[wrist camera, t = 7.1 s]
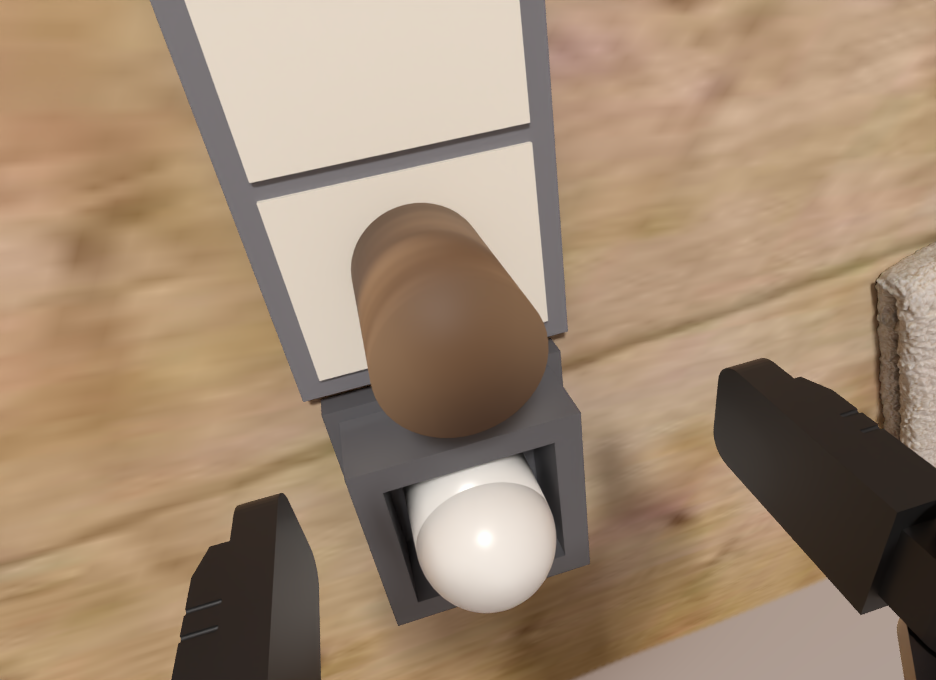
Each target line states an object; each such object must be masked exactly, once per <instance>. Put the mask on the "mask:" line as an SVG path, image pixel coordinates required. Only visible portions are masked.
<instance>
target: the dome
mask: <svg viewBox="0 0 936 680" xmlns="http://www.w3.org/2000/svg"><path fill="white" fill-rule="evenodd" d="M403 491H404V496H405V501H406V505H407V510H408V515H409V520H410V524H411V529H412V534H413V539H414V543H415V548H416V553H417V557H418V561H419V564H420V567H421V569H422V571H423V573H424V575H425V577H426V579H427V580H428V582H429V583H430V584H431V586H432V587H433V588H434V589H435V590H436V591H437V592H438V593H439V594H440V595H441V596H442V597H443V598H444V599H446V600H447V601H449V602H450V603H452V604H453V605H455V606H457V607H459V608H462V609H464V610H468V611H472V612H477V613H496V612H501V611H505V610H508V609H511V608H513V607H515V606H517V605H519V604H521V603H523V602H524V601H526V600H527V599H528V598H530V597H531V596H532V595H533V594H534V593H535V592H536V591H537V590H538V589H539V587H540V586H541V585H542V584H543V582H544V581H545V579H546V577H547V575H548V573H549V571H550V569H551V566H552V563H553V560H554V557H555V551H556V528H555V523H554V518H553V515H552V512H551V510H550V507H549V505H548V503H547V501H546V499H545V497H544V495H543V493H542V491H541V489H540V487H539V484H538V482H537V480H536V478H535V476H534V474H533V472H532V470H531V468H530V466H529V464H528V462H527V460H526V458H525V456H524V454H523V452H522V453H518V454H515V455H511V456H508V457H504V458H501V459H498V460H494V461H491V462H487V463H484V464H480V465H477V466H474V467H470V468H467V469H463V470H460V471H457V472H453V473H450V474H446V475H443V476H439V477H436V478H433V479H429V480H426V481H422V482H419V483H415V484H412V485H409V486H405V487H403Z"/></svg>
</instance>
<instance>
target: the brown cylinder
mask: <svg viewBox="0 0 936 680" xmlns="http://www.w3.org/2000/svg"><path fill="white" fill-rule="evenodd" d="M351 278H352V284H353V289H354V295H355V300H356V306H357V311H358V317H359V322H360V328H361V334H362V339H363V345H364V350H365V356H366V361H367V367H368V372H369V378H370V383H371V387H372V391H373V393H374V396H375V398H376V400H377V402H378V404H379V405H380V407H381V408H382V409H383V411H384V412H385V413H386V414H387V415H388V416H389V417H390V418H391V419H392V420H393V421H394V422H396V423H397V424H399V425H400V426H402V427H404V428H406V429H408V430H410V431H412V432H415V433H418V434H420V435H425V436H429V437H437V438H456V437H464V436H469V435H473V434H477V433H480V432H482V431H485V430H488V429H490V428H492V427H494V426H496V425H498V424H500V423H501V422H503V421H505V420H506V419H508V418H509V417H510V416H512V415H513V414H514V413H516V412H517V411H518V410H519V409H520V408H521V407H522V406H523V405H524V404H525V403H526V402H527V401H528V400H529V399H530V397H531V396H532V394H533V393H534V392H535V390H536V388H537V387H538V385H539V383H540V381H541V379H542V377H543V374H544V372H545V368H546V364H547V360H548V352H549V350H548V337H547V331H546V328H545V325H544V322H543V321H542V319H541V317H540V315H539V313H538V312H537V310H536V309H535V308H534V306H533V305H532V304H531V302H530V301H529V300H528V299H527V297H526V296H525V295H524V293H523V292H522V291H521V289H520V288H519V287H518V286H517V284H516V283H515V282H514V280H513V279H512V278H511V276H510V275H509V274H508V272H507V271H506V270H505V269H504V267H503V266H502V265H501V263H500V262H499V261H498V259H497V258H496V257H495V256H494V254H493V253H492V252H491V250H490V249H489V248H488V246H487V245H486V244H485V242H484V241H483V240H482V239H481V237H480V236H479V235H478V233H477V232H476V231H475V229H474V228H473V227H472V226H471V224H470V223H469V222H468V221H467V220H466V219H465V218H464V217H462V216H461V215H460V214H458V213H457V212H455V211H453V210H451V209H449V208H447V207H444V206H441V205H437V204H432V203H412V204H405V205H402V206H399V207H396V208H393V209H391V210H389V211H387V212H385V213H384V214H382V215H380V216H379V217H378V218H377V219H375V220H374V221H373V222H372V223H371V224H370V225H369V226H368V227H367V228H366V229H365V231H364V232H363V233H362V235H361V236H360V238H359V240H358V242H357V244H356V246H355V249H354V252H353V256H352V260H351Z"/></svg>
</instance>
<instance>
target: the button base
mask: <svg viewBox="0 0 936 680" xmlns="http://www.w3.org/2000/svg"><path fill="white" fill-rule="evenodd" d="M548 350H549V352H548V360H547V364H546V368H545V372H544V374H543V377H542V379H541V381H540V383H539V385H538V387H537V388H536V390H535V392H534V393H533V394H532V396H531V397H530V399H529V400H528V401H527V402H526V403H525V404H524V405H523V406H522V407H521V408H520V409H519V410H518V411H517V412H516V413H514V414H513V415H512V416H510V417H509V418H508V419H506V420H505V421H503V422H501V423H500V424H498V425H496V426H494V427H492V428H490V429H488V430H485V431H482V432H480V433H477V434H473V435H469V436H464V437H456V438H437V437H429V436H425V435H420V434H418V433H415V432H412V431H410V430H408V429H406V428H404V427H402V426H400V425H399V424H397V423H396V422H394V421H393V420H392V419H391V418H390V417H389V416H388V415H387V414H386V413H385V412H384V411H383V409H382V408H381V407H380V405H379V404H378V402H377V400H376V398H375V396H374V393H373V391H372V387H371V386H370V387H366V388H362V389H358V390H355V391H351V392H347V393H343V394H340V395H336V396H332V397H328V398H325V399H321V412H322V418H323V421H324V423H325V426H326V429H327V432H328V434H329V437H330V440H331V443H332V445H333V448H334V451H335V453H336V456H337V459H338V462H339V464H340V467H341V470H342V473H343V475H344V479H345V483H346V485H347V488H348V491H349V493H350V496H351V499H352V502H353V504H354V507H355V510H356V512H357V515H358V518H359V521H360V523H361V526H362V529H363V532H364V534H365V537H366V540H367V542H368V545H369V548H370V551H371V553H372V556H373V559H374V561H375V564H376V567H377V570H378V572H379V575H380V578H381V580H382V583H383V586H384V589H385V591H386V594H387V597H388V600H389V602H390V605H391V608H392V610H393V613H394V616H395V619H396V621H397V624H398V626H399V625H403V624H406V623H409V622H412V621H415V620H418V619H421V618H424V617H427V616H430V615H433V614H437V613H440V612H443V611H446V610H449V609H452V608H455V607H457V606H455V605H453V604H452V603H450V602H449V601H447V600H446V599H444V598H443V597H442V596H441V595H440V594H439V593H438V592H437V591H436V590H435V589H434V588H433V587H432V586H431V584H430V583H429V582H428V580H427V579H426V577H425V575H424V573H423V571H422V569H421V567H420V564H419V561H418V557H417V553H416V548H415V543H414V539H413V534H412V529H411V524H410V520H409V515H408V510H407V505H406V501H405V496H404V491H403V487H405V486H409V485H412V484H415V483H419V482H422V481H426V480H429V479H433V478H436V477H439V476H443V475H446V474H450V473H453V472H457V471H460V470H463V469H467V468H470V467H474V466H477V465H480V464H484V463H487V462H491V461H494V460H498V459H501V458H504V457H508V456H511V455H515V454H518V453H522V452H523V454H524V456H525V458H526V460H527V462H528V464H529V466H530V468H531V470H532V472H533V474H534V476H535V478H536V480H537V482H538V484H539V487H540V489H541V491H542V493H543V495H544V497H545V499H546V501H547V503H548V505H549V507H550V510H551V512H552V515H553V518H554V523H555V528H556V551H555V557H554V560H553V563H552V566H551V569H550V571H549V573H548V575H547V577H546V578H548V577H551V576H554V575H557V574H560V573H563V572H567V571H570V570H573V569H576V568H579V567H582V566H585V565H588V564H590V557H589V541H588V525H587V508H586V492H585V475H584V459H583V443H582V426H581V412H580V411H579V409H578V408H577V406H576V405H575V403H574V402H573V400H572V399H571V397H570V396H569V395H568V393H567V392H566V390H565V389H564V387H563V380H562V367H561V354H560V350H559V349H558V347H557V346H556V345H555V343H554V342H553V341H552V339H551V338H549V339H548Z"/></svg>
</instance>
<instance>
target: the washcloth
mask: <svg viewBox="0 0 936 680" xmlns="http://www.w3.org/2000/svg"><path fill="white" fill-rule="evenodd" d="M876 282H877V284H876V285H875V288H876V290H877V291H878V299H879V300H878V304H877V309H878V313H879V314H878V315H877V320H878V322H879V327H878V329H877V331H878V335H879V342H880V345H879V348H880V350H881V357H880V358H879V360H880V361H881V364H880V370H881V372H880V375H879V380H880V381H881V382H882V383H881V389H880V394H881V397H880V398H881V399H882V404H883V405H884V406H883V411H882V412H883V416H884V417H885V421H884V429H885V430H886V431H887V432H889V433H890V434H891V435H893V436H894V437H895V438H897V439H898V440H899V441H901V442H902V443H903V444H905V445H906V446H907V447H909V448H910V449H911V450H913V451H914V452H915V453H917V454H918V455H919V456H921V457H922V458H923V459H925V460H926V461H927V462H929V463H930V464H931V465H933V466H934V467H935V468H936V242H934V243H932V244H930V245H929V246H927V247H923V248H922V249H921V250H919V251H916V252H915V254H913V255H911V256H907V257H906V258H904V259H902V260H900V261H899V262H898V263H896V264H895V265H893V266H891V267H890V268H888V269H887V270H886V271H885V272H883V273H882V274H881V275H880V277H879V278H878V279H877V281H876Z"/></svg>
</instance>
